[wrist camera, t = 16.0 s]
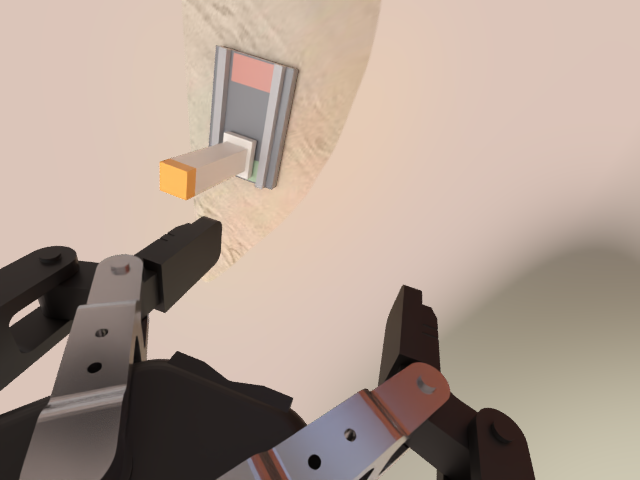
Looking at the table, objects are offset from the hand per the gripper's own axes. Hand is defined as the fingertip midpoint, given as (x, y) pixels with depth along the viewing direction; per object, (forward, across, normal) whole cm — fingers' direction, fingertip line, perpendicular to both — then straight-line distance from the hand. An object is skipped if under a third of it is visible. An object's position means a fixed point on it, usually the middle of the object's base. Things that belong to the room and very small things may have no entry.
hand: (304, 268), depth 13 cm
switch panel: (+29, +17, +3) cm, 34 cm away
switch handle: (+27, +17, +7) cm, 33 cm away
